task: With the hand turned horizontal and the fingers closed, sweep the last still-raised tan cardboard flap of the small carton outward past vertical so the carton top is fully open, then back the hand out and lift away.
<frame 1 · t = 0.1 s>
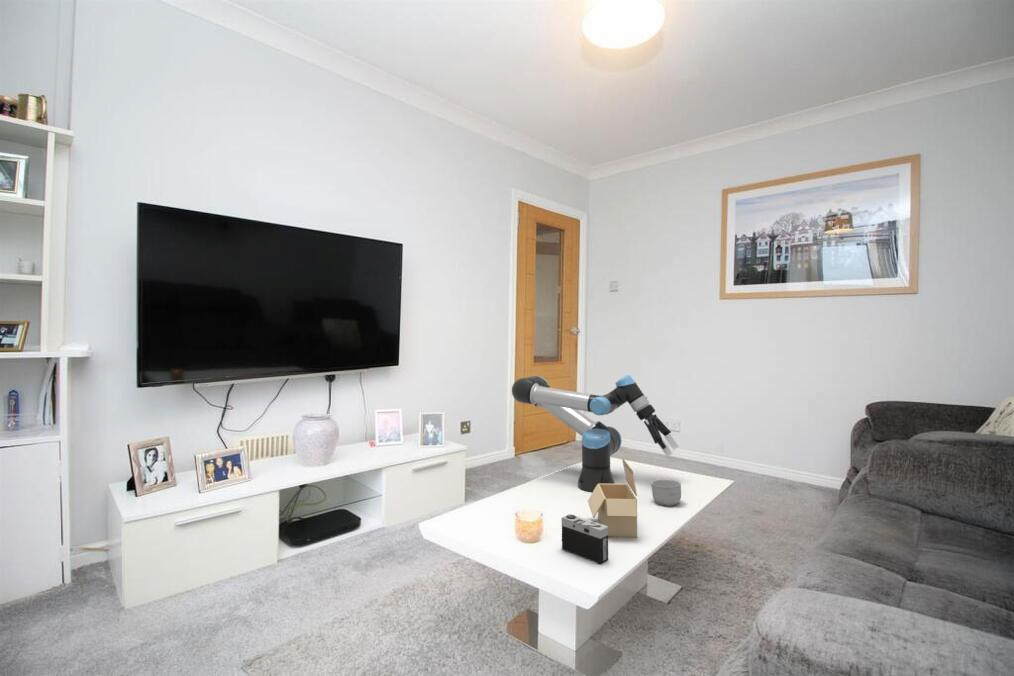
hand: (673, 451, 202), 15 cm above the table, tool tilted 35°, fingers open, 13 cm apart
teacup: (667, 502, 185), on the table
carton: (616, 527, 160), on the table
flap: (629, 476, 160), point 17 cm above the table, hinge at -10.0°
camera: (588, 553, 142), on the table
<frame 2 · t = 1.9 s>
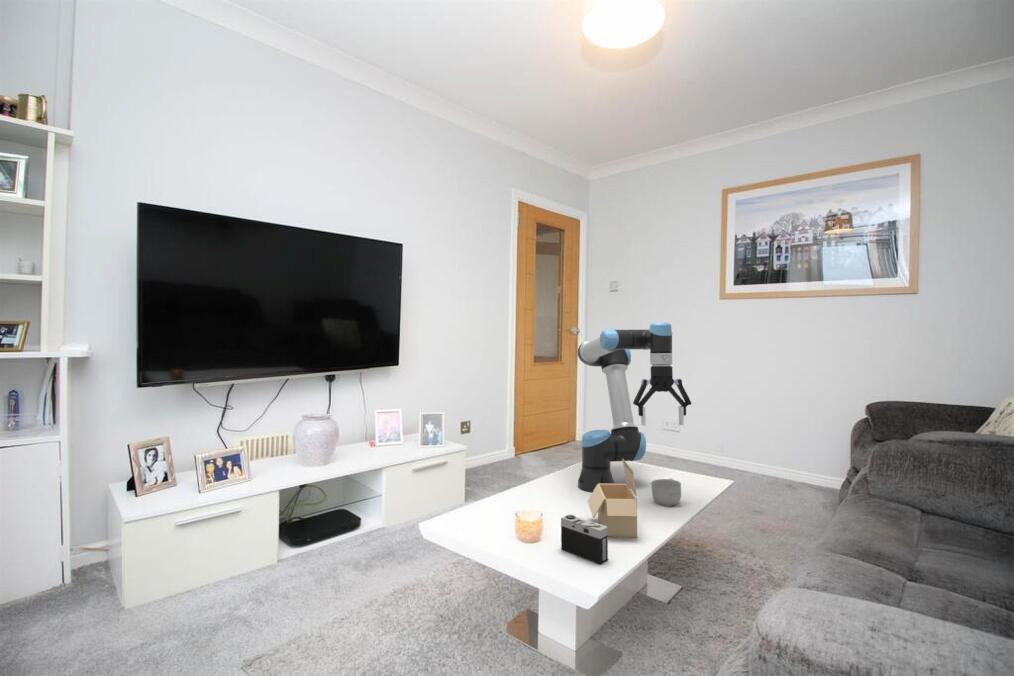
hand: (662, 425, 174), 31 cm above the table, tool pointing down, fingers open, 13 cm apart
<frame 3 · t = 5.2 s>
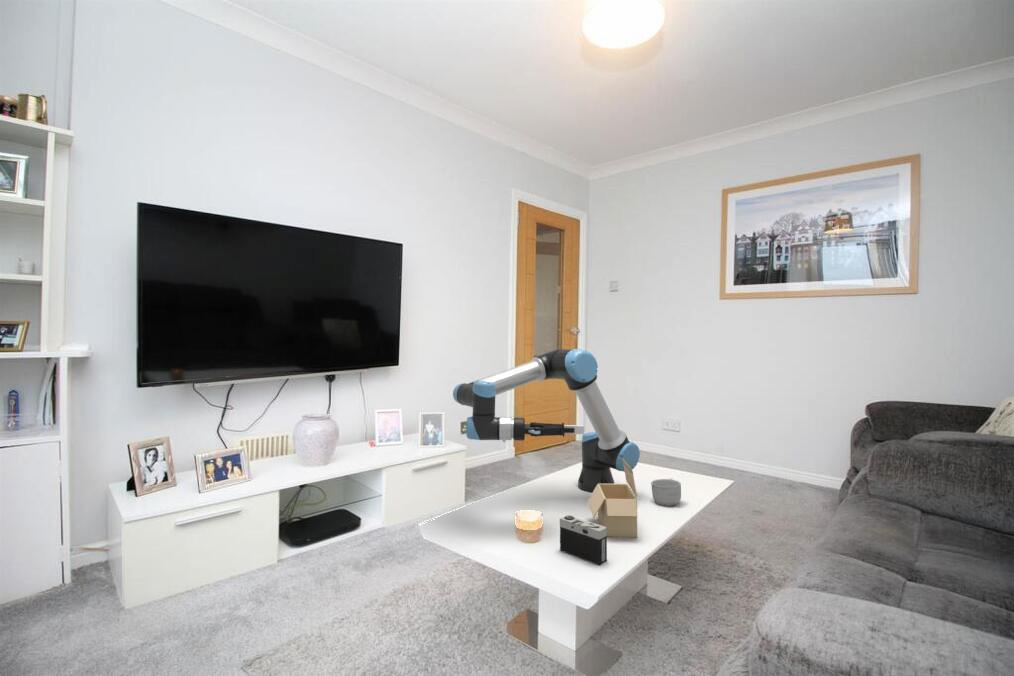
hand: (583, 429, 161), 32 cm above the table, tool horizontal, fingers closed
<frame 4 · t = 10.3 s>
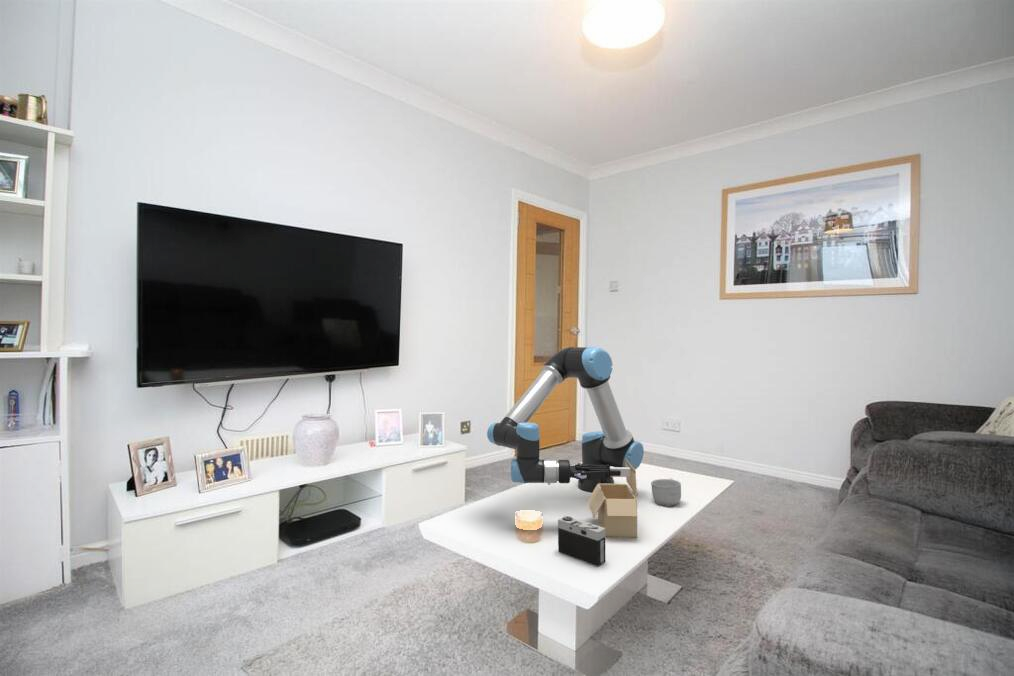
hand: (630, 472, 159), 19 cm above the table, tool horizontal, fingers closed
flap: (630, 476, 160), point 17 cm above the table, hinge at -3.6°, touching gripper
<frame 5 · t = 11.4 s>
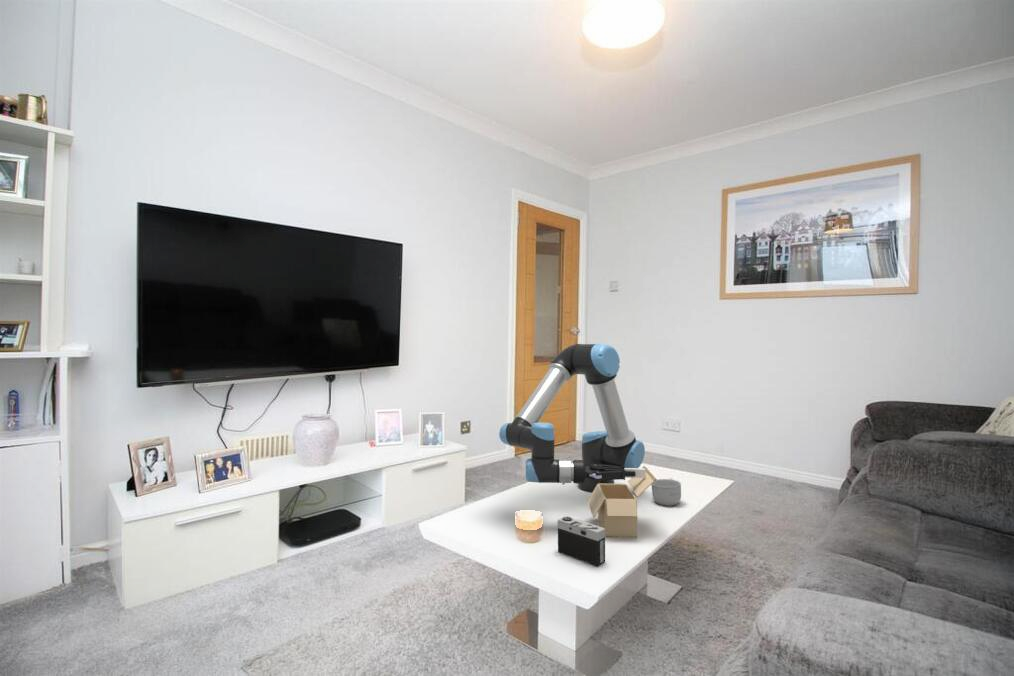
hand: (644, 473, 159), 18 cm above the table, tool horizontal, fingers closed
flap: (641, 480, 160), point 16 cm above the table, hinge at 46.3°, touching gripper
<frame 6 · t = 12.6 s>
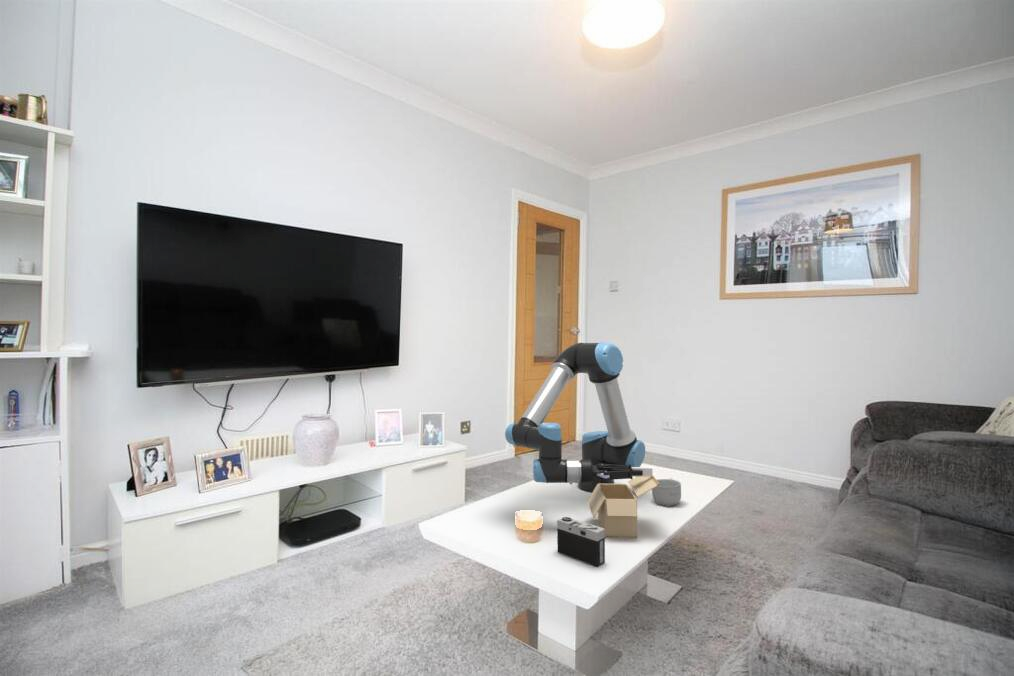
hand: (651, 471, 160), 18 cm above the table, tool horizontal, fingers closed
flap: (643, 483, 160), point 15 cm above the table, hinge at 59.5°
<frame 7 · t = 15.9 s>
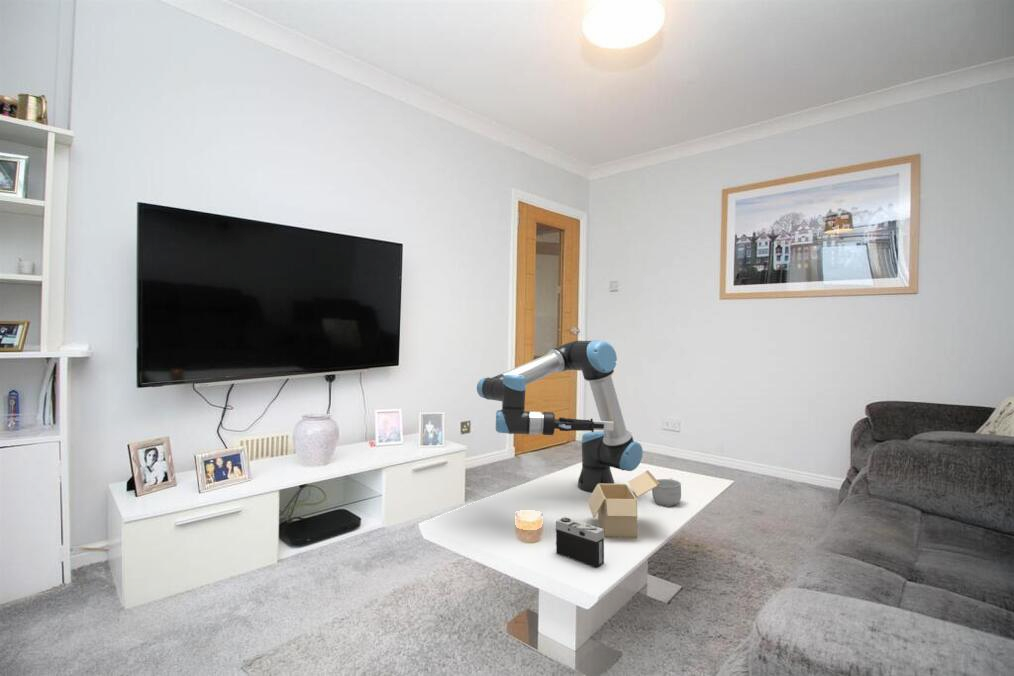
hand: (612, 426, 161), 33 cm above the table, tool horizontal, fingers closed
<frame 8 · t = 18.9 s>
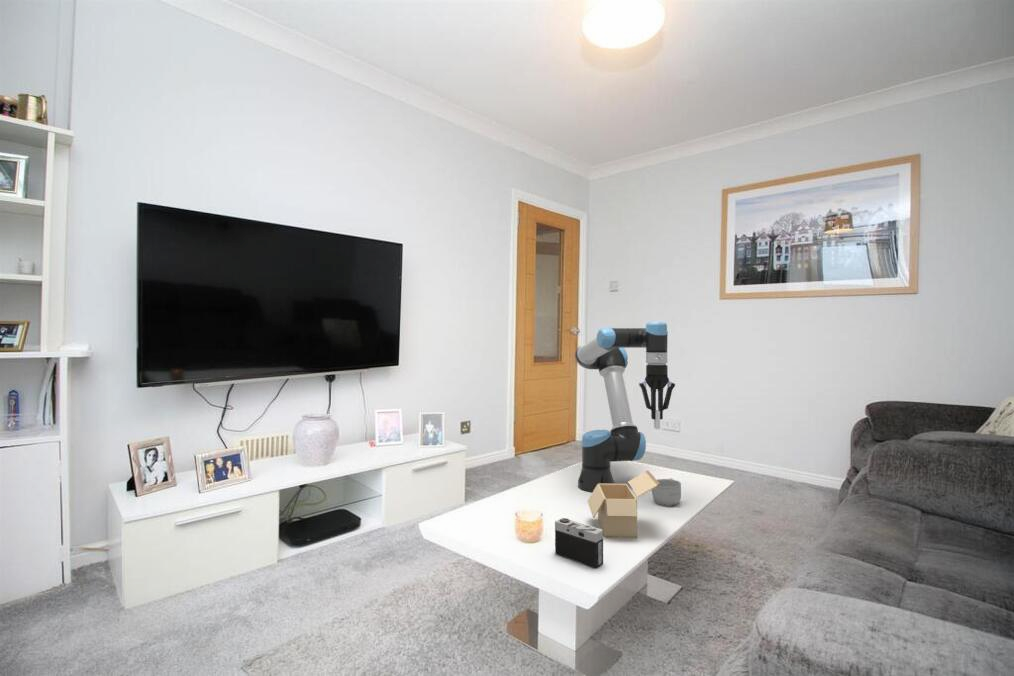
hand: (657, 428, 178), 29 cm above the table, tool pointing down, fingers closed
at the end: flap at +60° (first picture: -10°) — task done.
